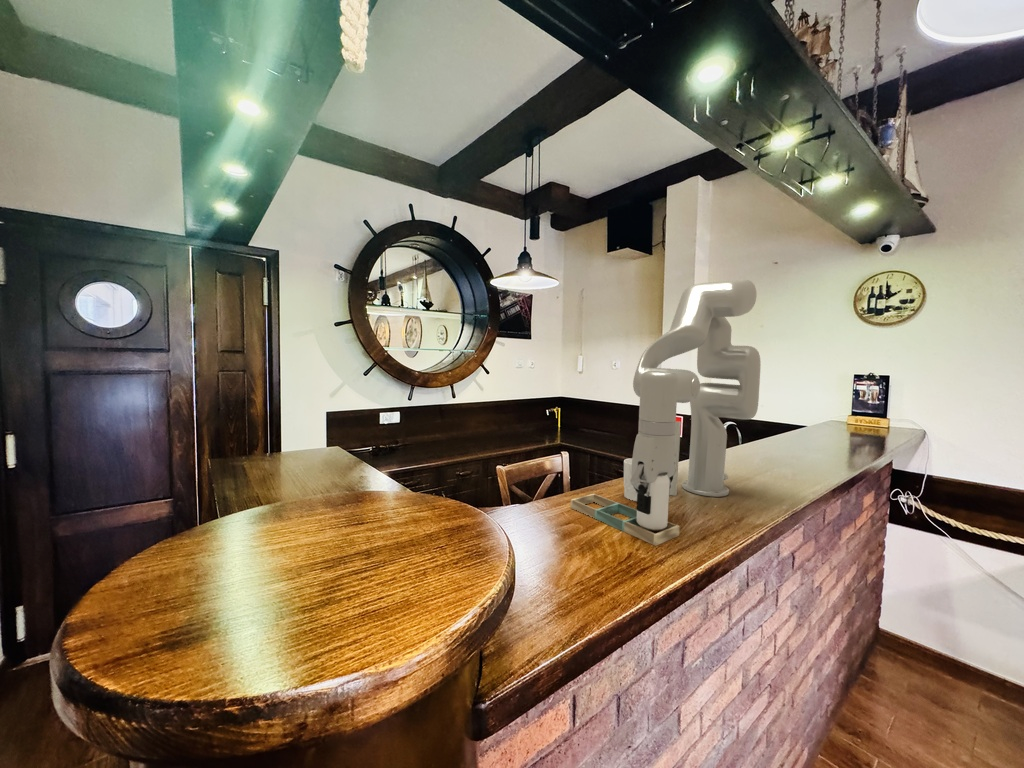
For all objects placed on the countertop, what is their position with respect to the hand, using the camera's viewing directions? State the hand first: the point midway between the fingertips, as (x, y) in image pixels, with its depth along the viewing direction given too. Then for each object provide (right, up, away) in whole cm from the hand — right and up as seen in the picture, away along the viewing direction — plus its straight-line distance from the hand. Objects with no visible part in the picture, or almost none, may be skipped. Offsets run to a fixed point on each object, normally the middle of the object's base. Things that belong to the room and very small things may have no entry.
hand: (652, 508), depth 92 cm
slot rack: (-5, -5, +6) cm, 10 cm away
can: (0, -4, 0) cm, 4 cm away
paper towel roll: (+11, -4, +28) cm, 30 cm away
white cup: (+3, -4, +23) cm, 24 cm away
